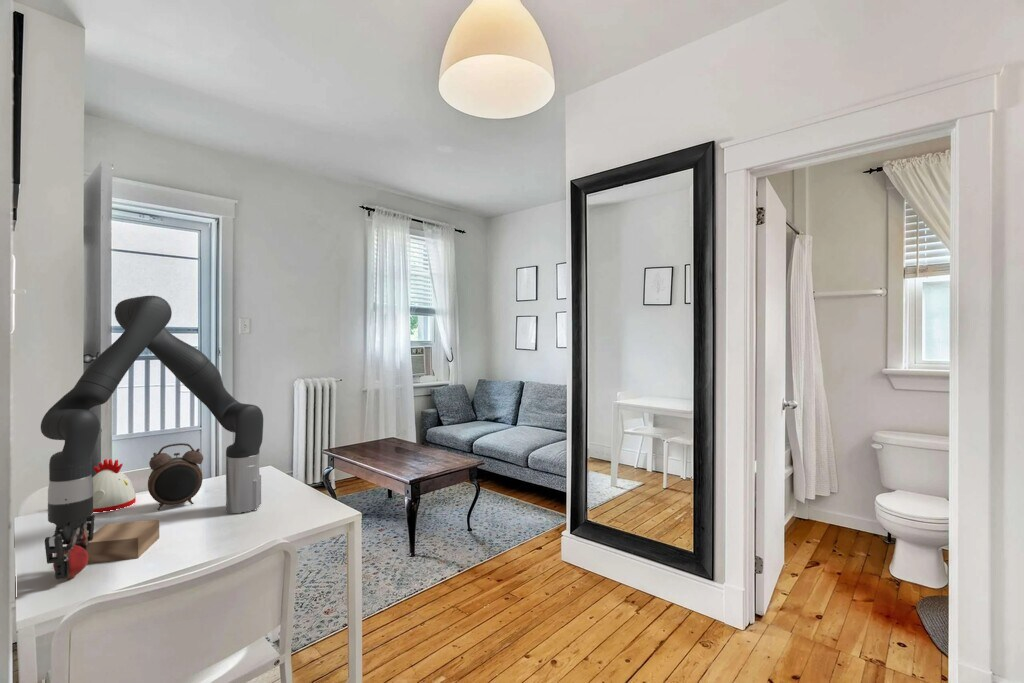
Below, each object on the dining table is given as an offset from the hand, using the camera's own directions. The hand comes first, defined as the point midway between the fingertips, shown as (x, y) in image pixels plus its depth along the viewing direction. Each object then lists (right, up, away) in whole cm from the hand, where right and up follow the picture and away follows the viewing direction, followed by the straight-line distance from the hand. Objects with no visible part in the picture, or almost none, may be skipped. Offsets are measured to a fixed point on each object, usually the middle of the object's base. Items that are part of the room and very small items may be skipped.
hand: (71, 570), depth 107 cm
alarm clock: (-8, -1, +45) cm, 45 cm away
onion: (0, -2, 0) cm, 2 cm away
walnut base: (0, -1, +14) cm, 14 cm away
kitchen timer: (-30, -1, +44) cm, 53 cm away
